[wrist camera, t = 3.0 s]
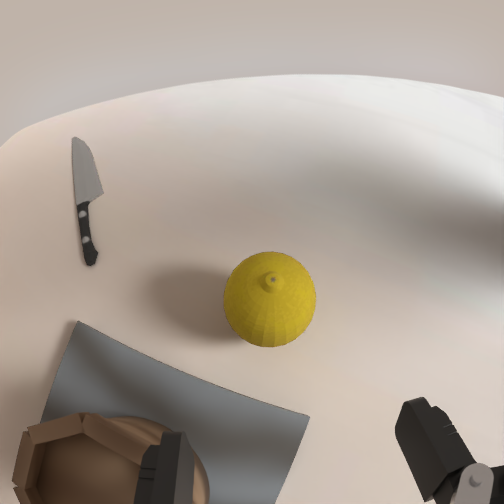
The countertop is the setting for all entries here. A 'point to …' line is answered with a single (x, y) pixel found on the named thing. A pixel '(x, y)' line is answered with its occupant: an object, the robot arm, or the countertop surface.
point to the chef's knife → (85, 192)
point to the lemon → (269, 299)
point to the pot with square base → (148, 431)
